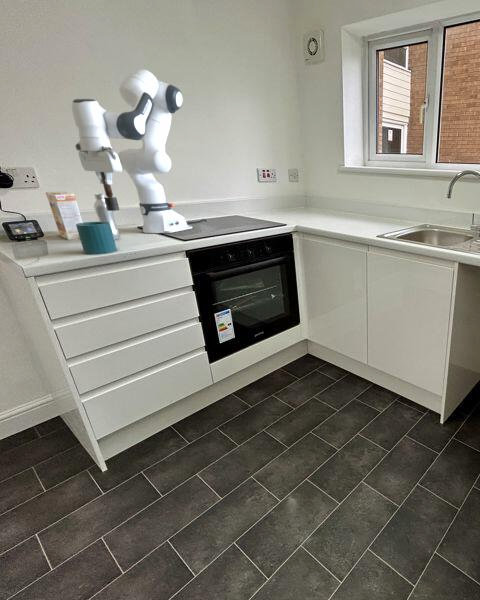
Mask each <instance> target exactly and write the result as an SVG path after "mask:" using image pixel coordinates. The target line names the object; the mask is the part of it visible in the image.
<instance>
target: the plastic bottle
mask: <svg viewBox="0 0 480 600" xmlns="http://www.w3.org/2000/svg"><path fill="white" fill-rule="evenodd" d="M104 197H107V196H106V193H94V199H95V202H94V203H93V209H94V211H95V214H96V216H97V218H98V222H109V223H110V226H111V229H112V233H113V237H114V241H115V240H118V239H120V238H121V235H120V231H119V229H118V227H117V224H116V220H115V217H114V211H108V210H107V208H106V204H105V200H104Z"/></svg>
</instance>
